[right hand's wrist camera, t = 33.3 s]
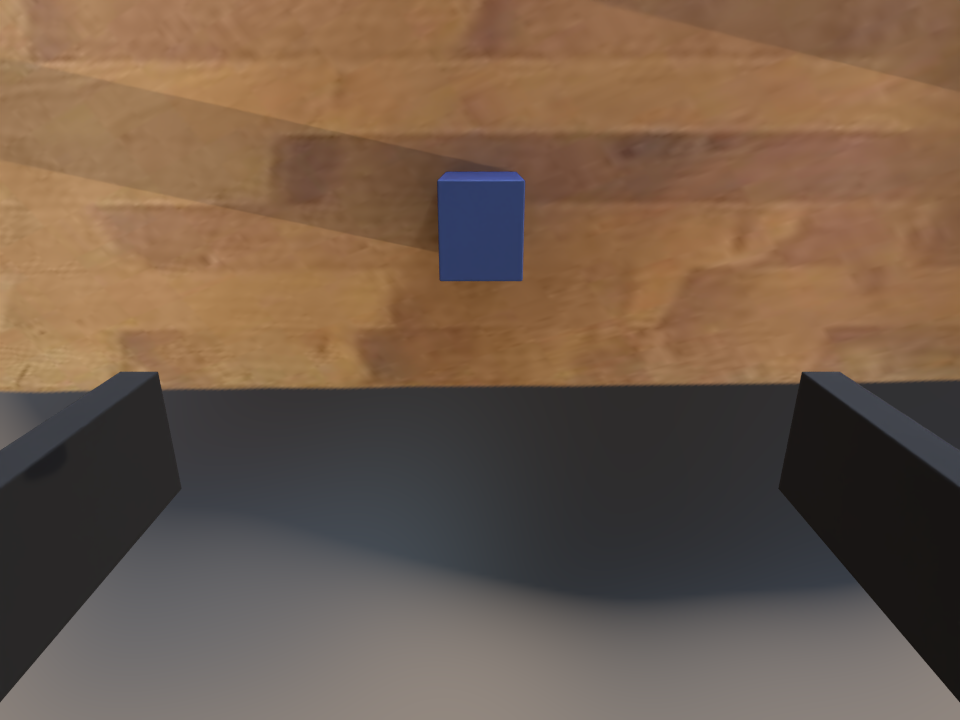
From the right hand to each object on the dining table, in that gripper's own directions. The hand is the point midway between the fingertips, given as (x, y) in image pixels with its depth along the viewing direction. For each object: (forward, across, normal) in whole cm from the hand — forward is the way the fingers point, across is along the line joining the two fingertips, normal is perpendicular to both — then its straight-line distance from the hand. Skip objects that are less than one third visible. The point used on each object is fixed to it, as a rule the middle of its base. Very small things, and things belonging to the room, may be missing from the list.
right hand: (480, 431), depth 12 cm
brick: (+37, 0, 0) cm, 37 cm away
